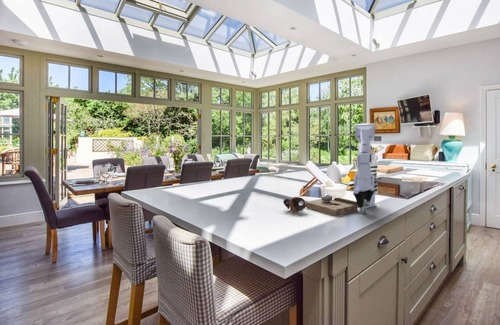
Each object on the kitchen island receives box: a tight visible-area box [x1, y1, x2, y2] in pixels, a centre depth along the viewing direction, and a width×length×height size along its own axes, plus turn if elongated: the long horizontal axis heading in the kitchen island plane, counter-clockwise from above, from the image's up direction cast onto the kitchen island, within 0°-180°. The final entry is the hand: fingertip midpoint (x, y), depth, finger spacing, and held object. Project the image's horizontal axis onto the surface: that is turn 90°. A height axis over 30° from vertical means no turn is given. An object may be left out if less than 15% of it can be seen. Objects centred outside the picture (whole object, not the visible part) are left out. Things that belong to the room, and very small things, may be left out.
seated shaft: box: [320, 193, 332, 203], centre depth 152 cm, size 5×5×7 cm
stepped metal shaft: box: [359, 199, 370, 215], centre depth 140 cm, size 5×5×7 cm
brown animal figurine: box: [282, 196, 306, 214], centre depth 147 cm, size 12×10×8 cm
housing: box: [305, 197, 359, 217], centre depth 150 cm, size 16×20×4 cm
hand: (363, 206), depth 140 cm, fingers closed on stepped metal shaft, 5 cm apart
